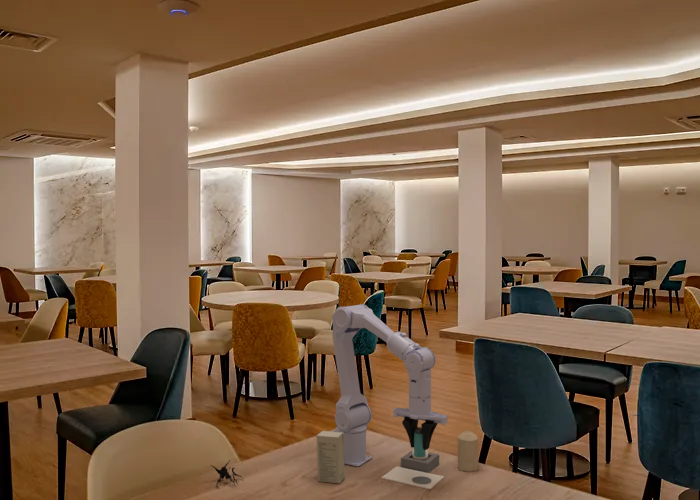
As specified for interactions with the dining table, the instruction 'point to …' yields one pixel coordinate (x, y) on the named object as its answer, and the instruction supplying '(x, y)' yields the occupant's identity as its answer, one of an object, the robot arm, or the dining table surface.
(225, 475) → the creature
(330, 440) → the skincare box
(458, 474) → the dining table surface
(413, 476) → the paper
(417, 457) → the button
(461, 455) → the candle
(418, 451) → the bottle
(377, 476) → the dining table surface
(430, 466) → the button housing
